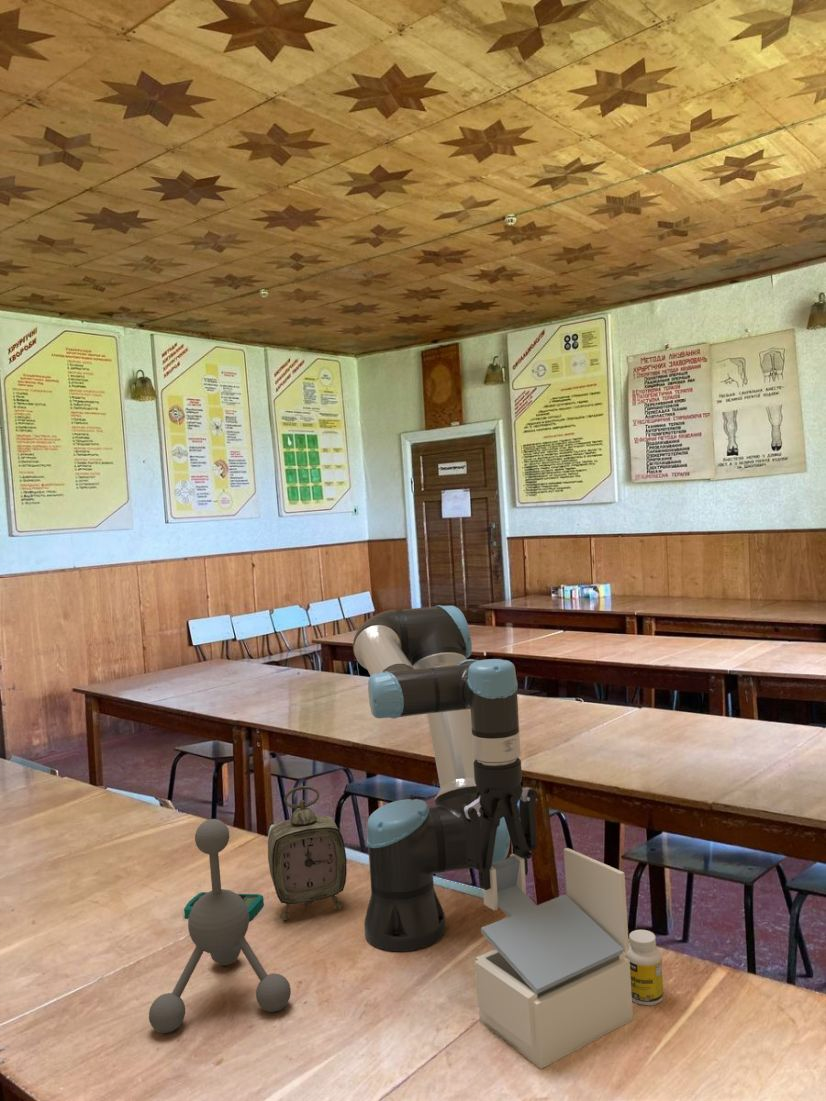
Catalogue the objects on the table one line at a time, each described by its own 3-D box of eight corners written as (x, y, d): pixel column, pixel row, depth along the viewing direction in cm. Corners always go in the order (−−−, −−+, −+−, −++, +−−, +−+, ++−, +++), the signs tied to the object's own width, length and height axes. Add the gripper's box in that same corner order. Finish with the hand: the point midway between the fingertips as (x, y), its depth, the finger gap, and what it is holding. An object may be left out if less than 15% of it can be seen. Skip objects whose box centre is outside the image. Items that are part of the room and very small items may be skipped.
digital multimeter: (199, 903, 178) (197, 889, 178) (265, 906, 175) (264, 892, 175) (181, 920, 171) (180, 906, 171) (250, 924, 168) (249, 909, 168)
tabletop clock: (276, 926, 165) (266, 798, 164) (270, 906, 174) (261, 784, 172) (350, 911, 169) (341, 786, 168) (341, 892, 178) (332, 773, 176)
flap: (454, 903, 135) (458, 875, 133) (537, 872, 144) (541, 846, 142) (536, 994, 119) (541, 963, 117) (622, 953, 128) (629, 924, 126)
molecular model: (116, 1009, 141) (100, 829, 139) (231, 953, 156) (218, 791, 155) (190, 1069, 124) (173, 866, 122) (311, 1000, 139) (297, 819, 138)
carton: (475, 1023, 130) (466, 881, 129) (572, 978, 140) (564, 846, 139) (536, 1071, 118) (526, 915, 117) (636, 1017, 129) (628, 874, 127)
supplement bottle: (622, 1000, 133) (618, 938, 133) (636, 983, 138) (632, 923, 137) (655, 1010, 130) (652, 947, 130) (669, 993, 134) (665, 932, 134)
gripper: (464, 777, 128) (473, 928, 130) (556, 751, 138) (563, 892, 139) (436, 765, 134) (445, 910, 136) (525, 742, 144) (533, 877, 145)
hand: (505, 901), depth 138 cm, fingers closed on flap, 5 cm apart
